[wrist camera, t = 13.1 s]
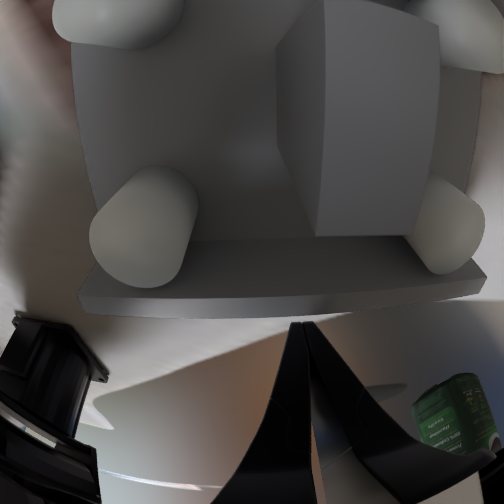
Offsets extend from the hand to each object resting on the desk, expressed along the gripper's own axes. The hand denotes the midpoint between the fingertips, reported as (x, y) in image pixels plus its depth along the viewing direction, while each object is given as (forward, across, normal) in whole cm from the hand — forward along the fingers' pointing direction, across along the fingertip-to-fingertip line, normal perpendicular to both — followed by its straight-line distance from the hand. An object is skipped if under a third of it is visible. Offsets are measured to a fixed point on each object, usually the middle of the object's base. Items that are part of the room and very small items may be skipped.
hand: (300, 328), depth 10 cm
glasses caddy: (+3, 0, -8) cm, 8 cm away
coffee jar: (+3, -20, +18) cm, 27 cm away
